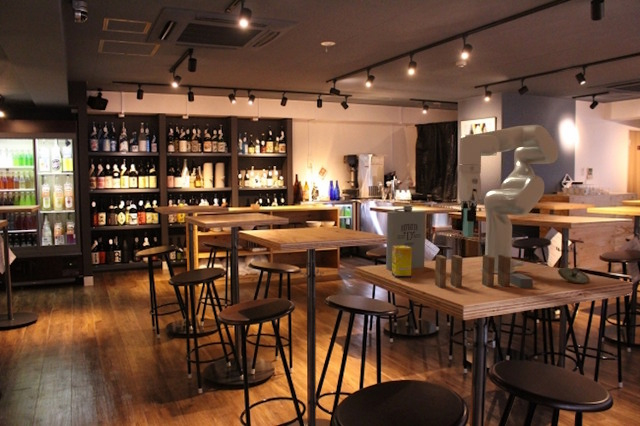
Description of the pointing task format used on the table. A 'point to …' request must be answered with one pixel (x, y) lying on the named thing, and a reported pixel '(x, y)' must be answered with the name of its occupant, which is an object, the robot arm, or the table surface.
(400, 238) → the flask
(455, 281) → the tile
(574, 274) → the lid
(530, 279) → the block
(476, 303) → the table surface
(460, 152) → the robot arm
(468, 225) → the tile
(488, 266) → the tile
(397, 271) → the supplement box
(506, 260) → the tile
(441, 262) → the tile
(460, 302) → the table surface
